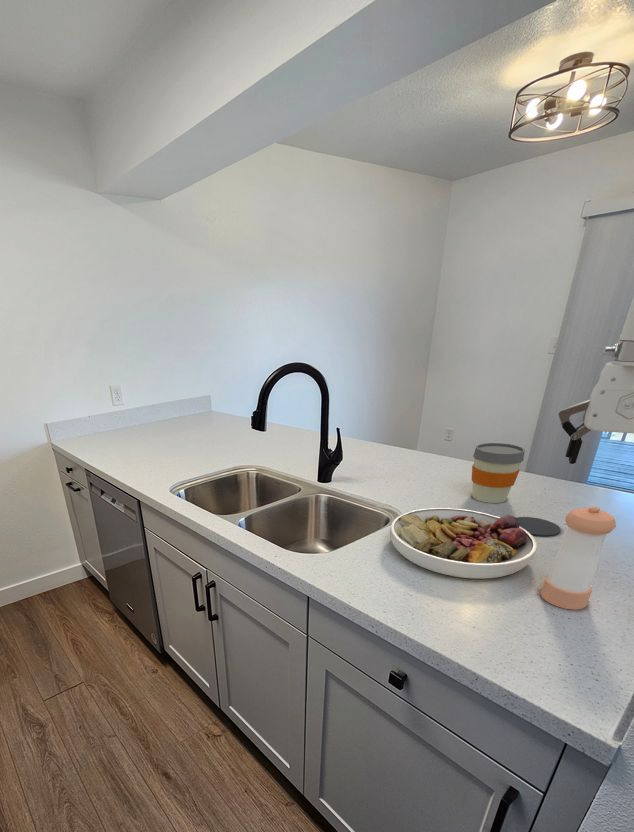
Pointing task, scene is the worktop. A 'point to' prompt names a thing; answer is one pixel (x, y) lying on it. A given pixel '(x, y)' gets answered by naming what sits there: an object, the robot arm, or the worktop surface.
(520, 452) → the reusable coffee cup
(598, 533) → the salt shaker
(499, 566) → the bowl
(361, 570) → the worktop surface
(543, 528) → the coaster
